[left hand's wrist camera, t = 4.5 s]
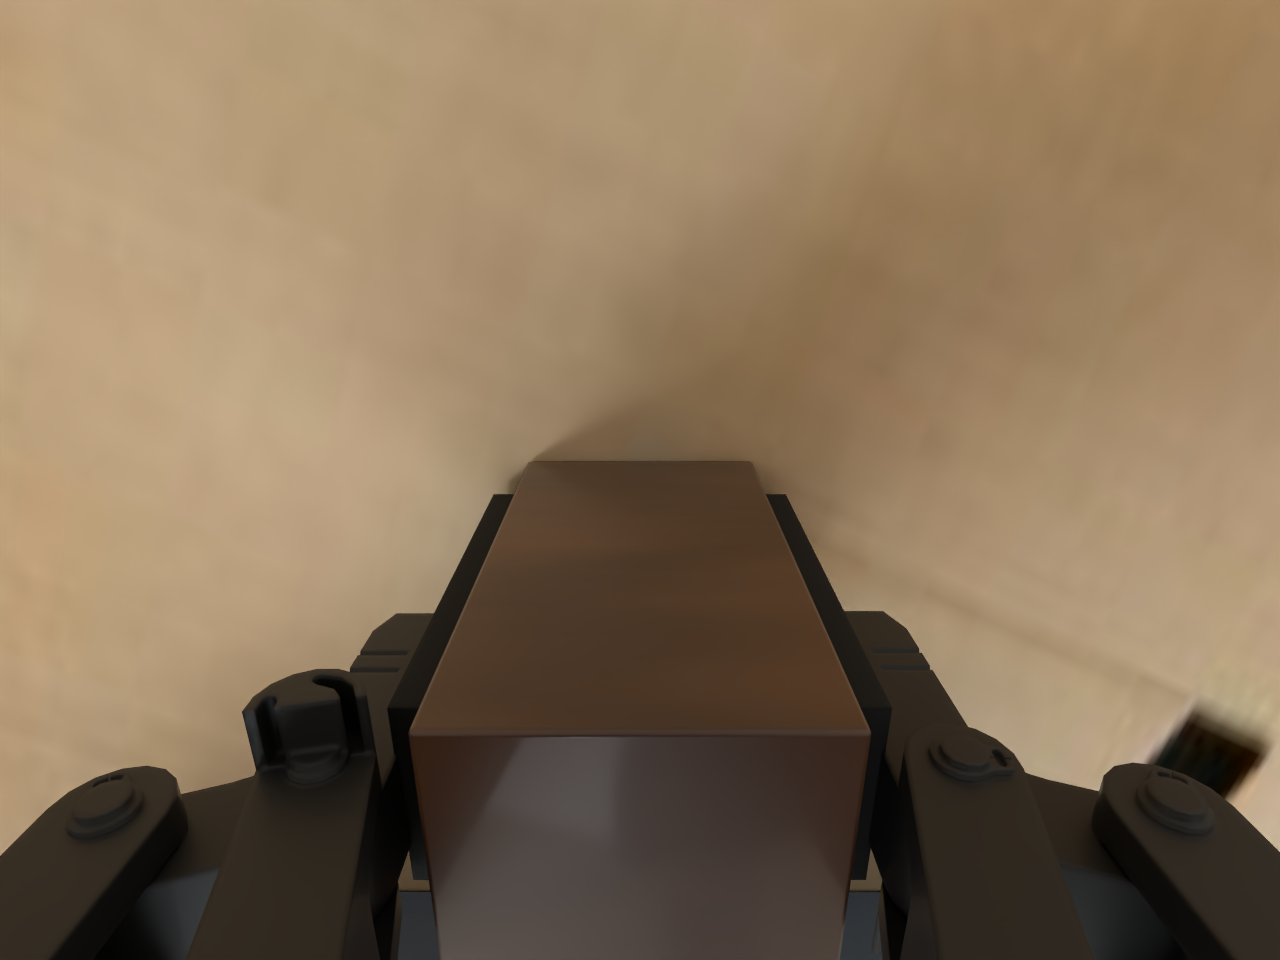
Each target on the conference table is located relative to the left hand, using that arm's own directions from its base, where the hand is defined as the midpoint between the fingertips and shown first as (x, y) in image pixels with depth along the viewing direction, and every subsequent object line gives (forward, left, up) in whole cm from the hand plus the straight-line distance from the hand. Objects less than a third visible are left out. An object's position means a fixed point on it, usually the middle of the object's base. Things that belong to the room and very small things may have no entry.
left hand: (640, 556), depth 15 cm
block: (0, 0, 0) cm, 0 cm away
